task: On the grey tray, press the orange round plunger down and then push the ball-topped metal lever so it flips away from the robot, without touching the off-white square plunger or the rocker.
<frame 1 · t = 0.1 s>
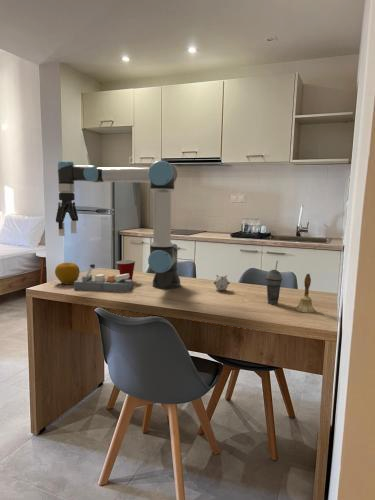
hand: (68, 234, 186), 28 cm above the table, tool pointing down, fingers open, 13 cm apart
plastic cup: (126, 281, 205), on the table
lever: (89, 271, 189), point 8 cm above the table, hinge at -25.0°
rocker: (122, 276, 187), point 6 cm above the table, hinge at 12.0°
beverage cup: (272, 303, 166), on the table
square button: (100, 278, 188), point 5 cm above the table, slide at 0.0 cm
grey spiky ball: (221, 291, 188), on the table
grey tray: (103, 288, 189), on the table
hand bell: (305, 310, 157), on the table
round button: (111, 279, 188), point 5 cm above the table, slide at 0.0 cm
apple: (67, 283, 198), on the table
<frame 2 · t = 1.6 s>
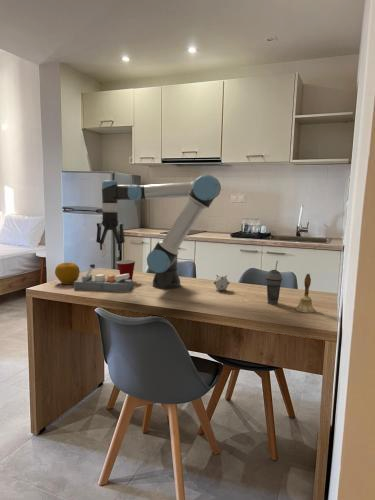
hand: (110, 256, 186), 17 cm above the table, tool pointing down, fingers open, 7 cm apart
nothing on the table moved.
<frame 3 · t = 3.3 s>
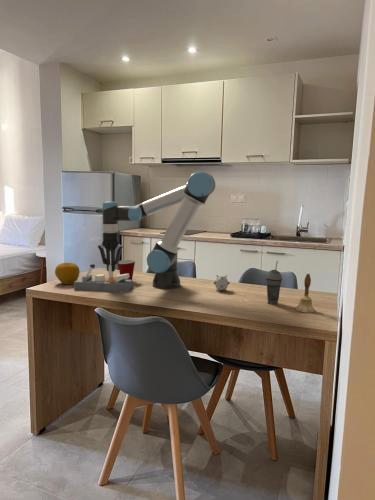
hand: (110, 277, 188), 6 cm above the table, tool pointing down, fingers closed
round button: (111, 281, 188), point 4 cm above the table, slide at 1.3 cm, touching gripper
everything else where it was.
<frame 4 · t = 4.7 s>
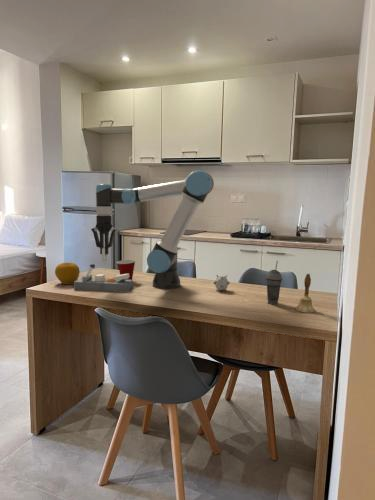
hand: (104, 260, 187), 15 cm above the table, tool pointing down, fingers closed
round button: (111, 282, 188), point 4 cm above the table, slide at 1.4 cm
everything else where it was.
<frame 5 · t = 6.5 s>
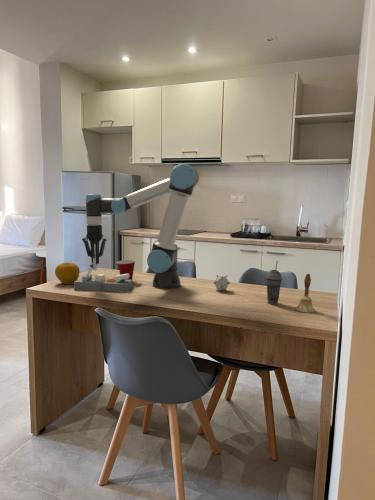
hand: (95, 269, 188), 10 cm above the table, tool pointing down, fingers closed
lever: (89, 271, 189), point 8 cm above the table, hinge at -25.0°, touching gripper
everything else where it was.
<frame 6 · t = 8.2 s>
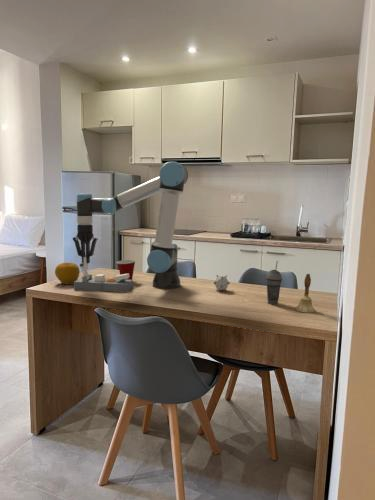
hand: (85, 269, 189), 10 cm above the table, tool pointing down, fingers closed
lever: (84, 271, 189), point 9 cm above the table, hinge at 19.7°, touching gripper
everything else where it was.
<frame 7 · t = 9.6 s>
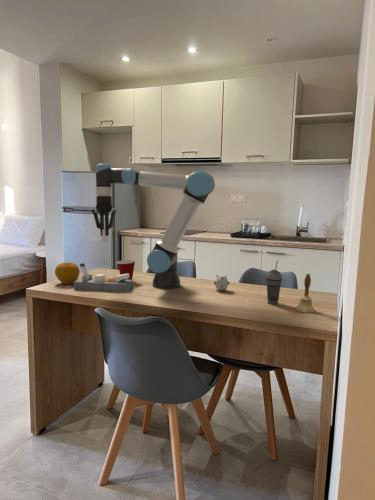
hand: (104, 242, 185), 24 cm above the table, tool pointing down, fingers closed
lever: (84, 271, 189), point 9 cm above the table, hinge at 20.0°
everything else where it was.
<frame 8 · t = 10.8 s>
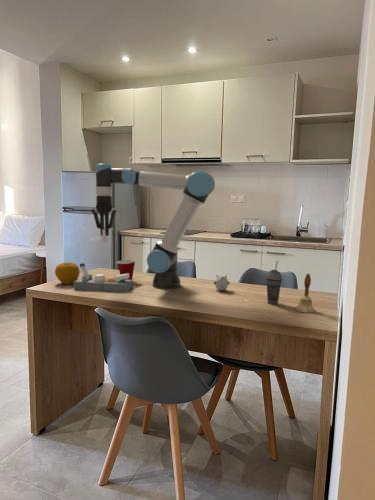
hand: (104, 241, 185), 24 cm above the table, tool pointing down, fingers closed
nothing on the table moved.
at the end: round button slide at 1.4 cm; lever at +20° (first picture: -25°); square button slide at 0.0 cm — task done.
